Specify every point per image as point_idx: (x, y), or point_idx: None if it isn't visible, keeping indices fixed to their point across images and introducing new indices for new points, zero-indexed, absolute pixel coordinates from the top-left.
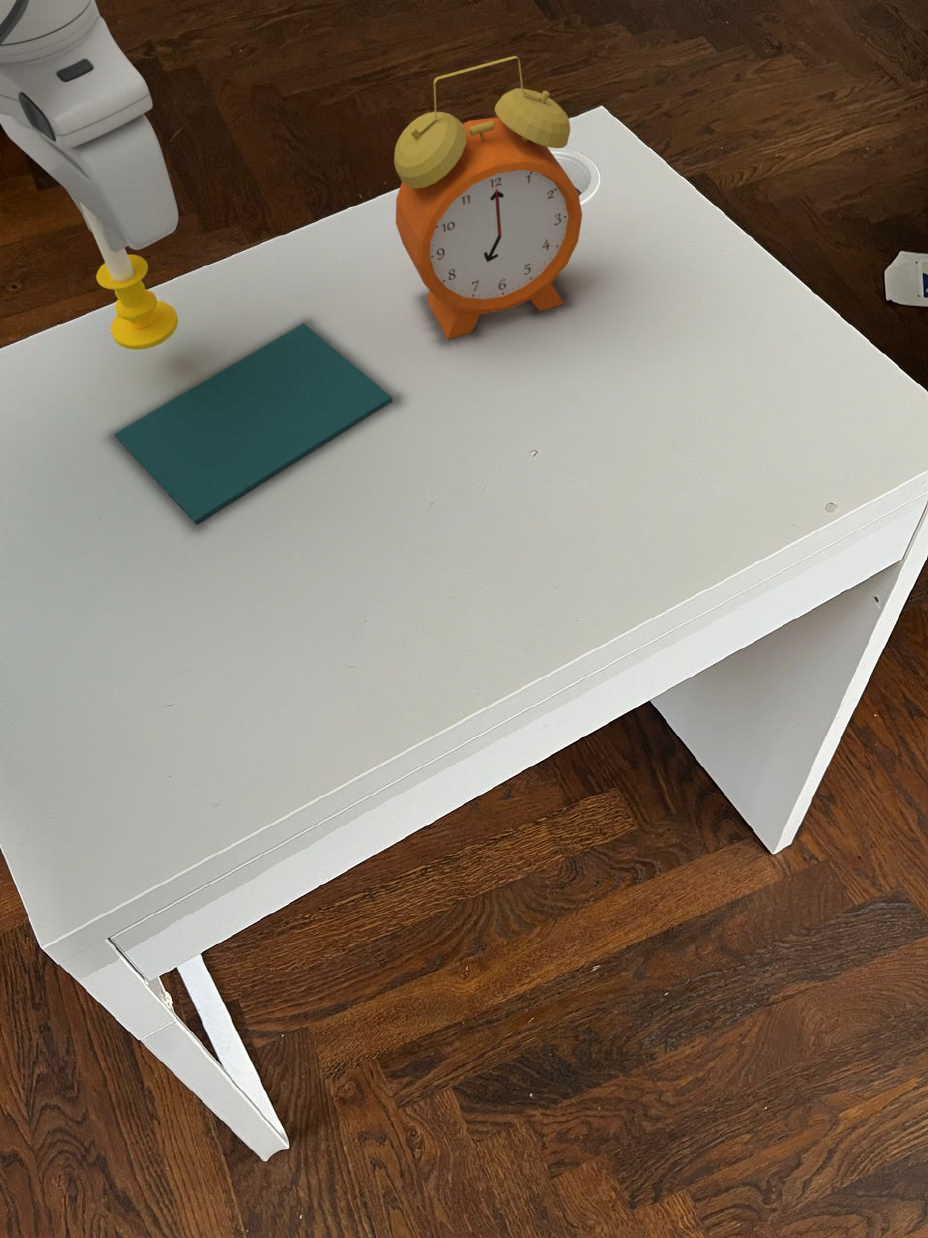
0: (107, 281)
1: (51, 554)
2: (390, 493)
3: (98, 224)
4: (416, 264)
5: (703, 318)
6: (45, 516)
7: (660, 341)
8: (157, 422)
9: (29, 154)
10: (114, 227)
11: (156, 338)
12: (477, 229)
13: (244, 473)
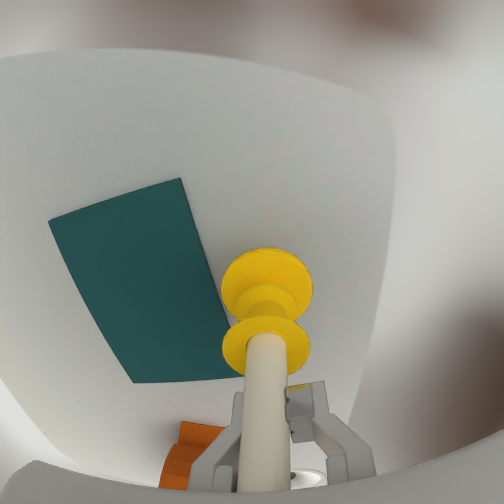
0: (258, 326)
1: (61, 88)
2: (56, 341)
3: (237, 437)
4: (175, 470)
5: (151, 470)
6: (104, 84)
7: (141, 459)
8: (173, 227)
9: (473, 457)
10: (47, 486)
11: (224, 296)
12: None
13: (82, 275)
